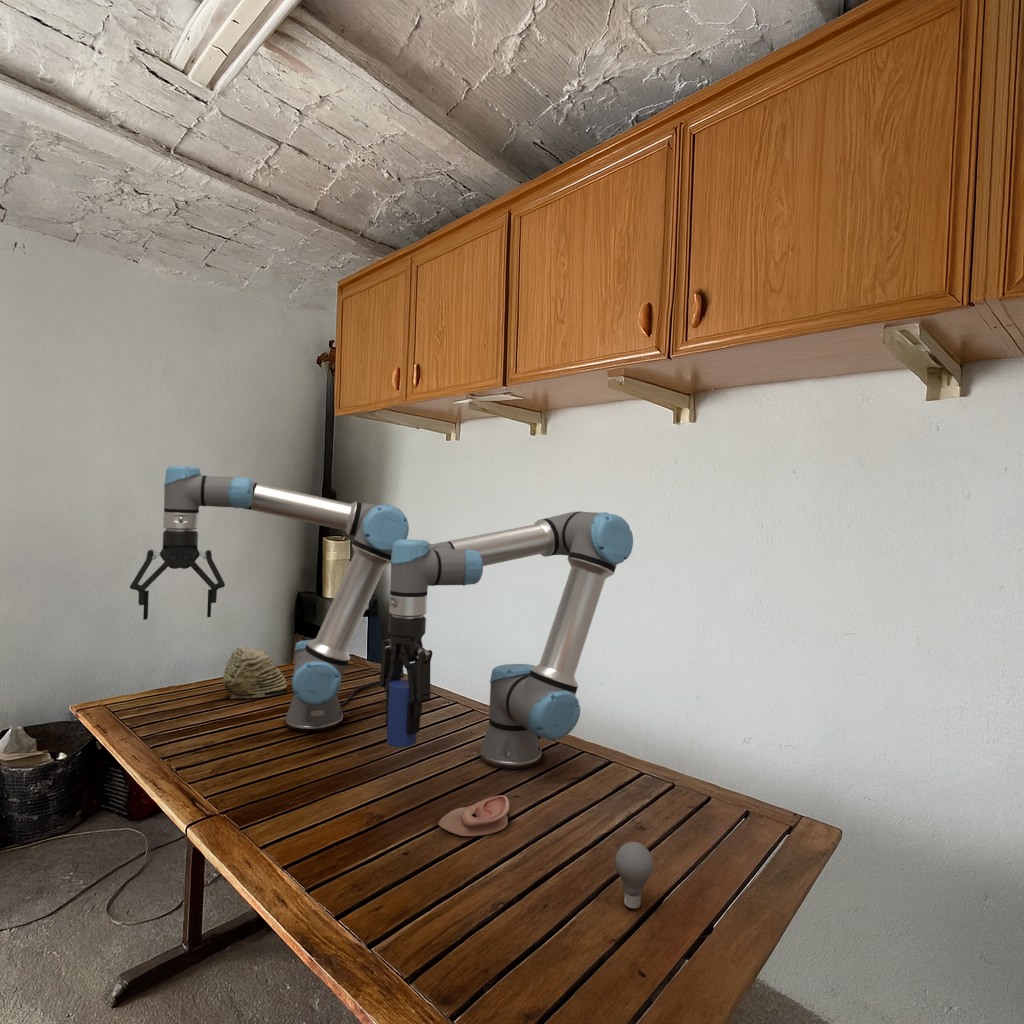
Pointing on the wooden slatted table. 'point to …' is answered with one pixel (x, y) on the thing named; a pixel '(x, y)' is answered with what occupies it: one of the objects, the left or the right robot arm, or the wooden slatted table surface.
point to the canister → (399, 715)
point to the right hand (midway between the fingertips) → (402, 728)
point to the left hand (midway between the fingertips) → (177, 617)
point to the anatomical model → (478, 817)
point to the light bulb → (633, 871)
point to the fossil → (252, 674)
